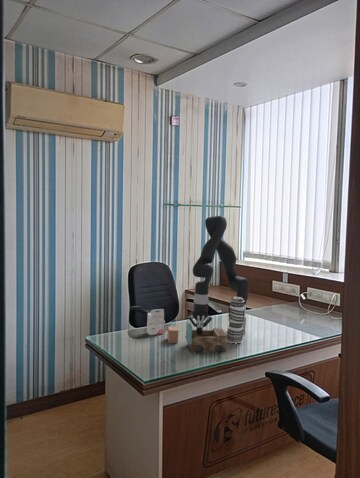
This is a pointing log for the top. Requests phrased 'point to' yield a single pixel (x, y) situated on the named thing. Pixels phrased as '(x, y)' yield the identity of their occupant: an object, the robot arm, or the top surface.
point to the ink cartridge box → (155, 322)
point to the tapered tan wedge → (172, 334)
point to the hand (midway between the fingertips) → (199, 334)
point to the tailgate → (188, 332)
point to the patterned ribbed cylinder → (235, 320)
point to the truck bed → (209, 341)
